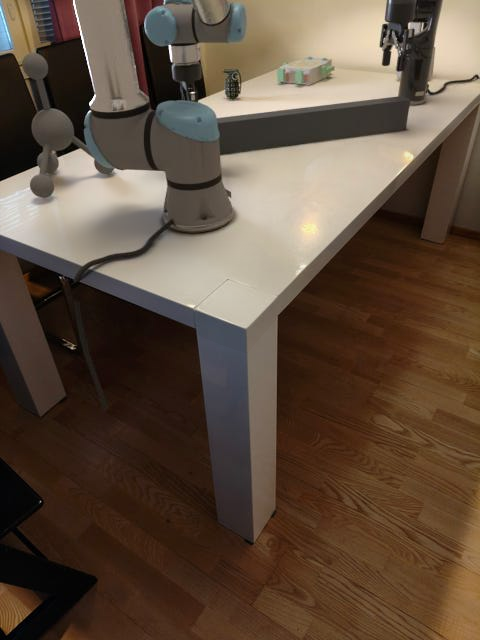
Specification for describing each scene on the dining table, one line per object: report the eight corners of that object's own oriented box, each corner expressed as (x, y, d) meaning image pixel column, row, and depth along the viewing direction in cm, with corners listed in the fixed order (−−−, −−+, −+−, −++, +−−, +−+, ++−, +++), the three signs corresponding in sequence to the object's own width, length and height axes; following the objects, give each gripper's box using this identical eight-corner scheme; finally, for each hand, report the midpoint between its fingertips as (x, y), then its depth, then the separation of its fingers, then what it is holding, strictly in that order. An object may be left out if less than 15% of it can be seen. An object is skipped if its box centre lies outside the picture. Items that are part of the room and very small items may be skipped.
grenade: (223, 100, 185) (221, 71, 179) (226, 96, 190) (225, 68, 184) (239, 100, 184) (238, 71, 178) (243, 96, 188) (242, 68, 182)
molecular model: (125, 187, 123) (98, 53, 104) (35, 204, 117) (-11, 66, 98) (110, 158, 140) (84, 39, 122) (30, 172, 134) (-9, 49, 116)
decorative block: (300, 55, 216) (341, 58, 206) (299, 71, 220) (340, 74, 210) (268, 66, 200) (311, 70, 190) (268, 83, 204) (310, 87, 194)
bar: (176, 160, 137) (172, 128, 131) (174, 154, 141) (170, 123, 135) (405, 130, 148) (410, 99, 143) (397, 125, 152) (402, 95, 146)
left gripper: (207, 68, 117) (215, 161, 131) (193, 54, 134) (201, 138, 148) (177, 72, 116) (187, 165, 130) (166, 57, 133) (177, 141, 147)
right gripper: (428, 1, 124) (417, 71, 134) (401, -3, 135) (392, 62, 145) (401, 4, 122) (392, 74, 132) (376, -1, 133) (369, 65, 143)
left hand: (195, 150), depth 139 cm, fingers open, 8 cm apart
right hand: (392, 68), depth 138 cm, fingers open, 8 cm apart
